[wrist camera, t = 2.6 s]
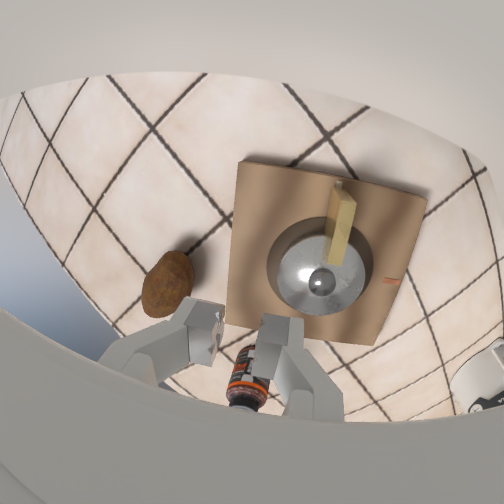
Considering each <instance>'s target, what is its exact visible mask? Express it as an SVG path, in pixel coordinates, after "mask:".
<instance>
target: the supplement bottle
mask: <svg viewBox="0 0 504 504" xmlns="http://www.w3.org/2000/svg"><path fill="white" fill-rule="evenodd" d="M254 351H255V347H247V348H244V349H242V350H241V351H240V352H239V354H238V356H237V359H236V362H235V365H234V369H233V372H232V375H231V378H230V381H229V385H228V388H227V392H226V397H227V399H228V401H229V402H230V404H229V407H233V408H237V409H242V410H247V411H253V412H258V409H259V408H261V407H262V406H264V404H265V403H266V400H267V395H268V389H269V384H270V379H266V378H261V377H256V376H251V369H252V363H253V359H254Z"/></svg>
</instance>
